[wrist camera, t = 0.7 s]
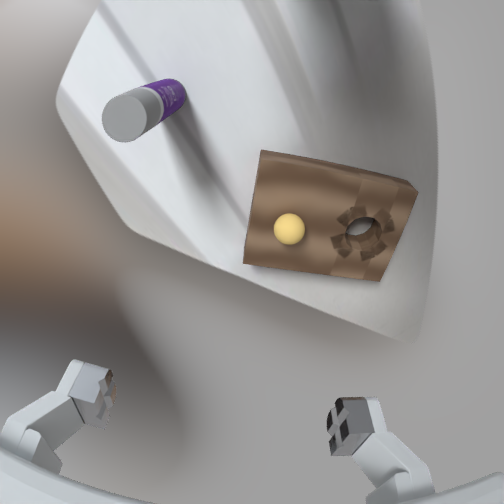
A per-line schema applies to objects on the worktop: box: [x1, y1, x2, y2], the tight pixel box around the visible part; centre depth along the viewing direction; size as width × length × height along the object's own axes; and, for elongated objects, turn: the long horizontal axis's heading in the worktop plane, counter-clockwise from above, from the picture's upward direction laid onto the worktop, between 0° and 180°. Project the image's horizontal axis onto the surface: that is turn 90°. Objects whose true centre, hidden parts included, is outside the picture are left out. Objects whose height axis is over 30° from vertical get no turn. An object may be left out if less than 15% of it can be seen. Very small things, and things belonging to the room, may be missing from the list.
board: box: [243, 150, 418, 282], centre depth 45 cm, size 16×22×4 cm
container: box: [102, 79, 186, 142], centre depth 31 cm, size 5×5×15 cm
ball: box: [274, 213, 305, 245], centre depth 41 cm, size 4×4×4 cm
